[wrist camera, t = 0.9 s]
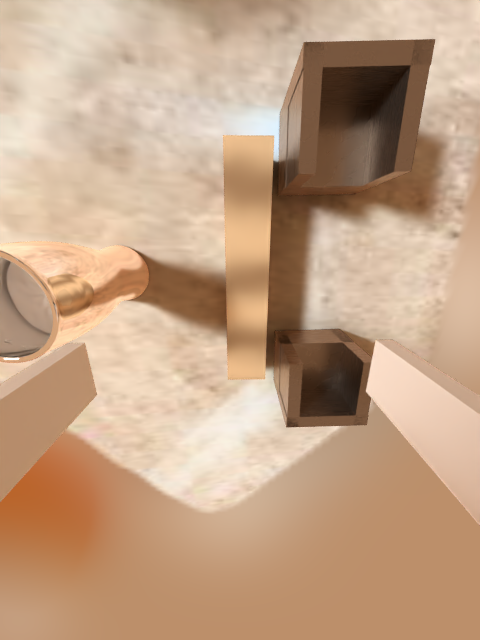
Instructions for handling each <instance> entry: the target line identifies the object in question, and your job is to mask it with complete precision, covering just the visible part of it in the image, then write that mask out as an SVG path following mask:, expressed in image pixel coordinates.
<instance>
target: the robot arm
mask: <svg viewBox="0 0 480 640" xmlns="http://www.w3.org/2000/svg"><path fill="white" fill-rule="evenodd" d="M366 392H367V393H368V395H369V396H370V397H371V398H372V399H373V401H374V402H375V403H376V404H377V405H378V406H379V408H380V409H381V410H382V411H383V412H384V413H385V415H386V416H387V417H388V418H389V419H390V420H391V422H392V423H393V424H394V425H395V426H396V428H397V429H398V430H399V431H400V432H401V433H402V435H403V436H404V437H405V438H406V439H407V441H408V442H409V443H410V444H411V445H412V446H413V448H414V449H415V450H416V451H417V452H418V453H419V455H420V456H421V457H422V458H423V459H424V460H425V462H426V463H427V464H428V465H429V466H430V468H431V469H432V470H433V471H434V472H435V473H436V475H437V476H438V477H439V478H440V479H441V481H442V482H443V483H444V484H445V485H446V486H447V488H448V489H449V490H450V491H451V492H452V493H453V495H454V496H455V497H456V498H457V499H458V501H459V502H460V503H461V504H462V505H463V506H464V508H465V509H466V510H467V511H468V512H469V514H471V516H472V517H473V518H474V519H475V520H476V522H477V523H478V524H479V525H480V395H478V394H476V393H475V392H473V391H472V390H470V389H469V388H467V387H465V386H464V385H462V384H461V383H459V382H458V381H456V380H455V379H453V378H452V377H450V376H448V375H447V374H445V373H444V372H442V371H441V370H439V369H437V368H436V367H434V366H433V365H431V364H430V363H428V362H427V361H425V360H424V359H422V358H420V357H419V356H417V355H416V354H414V353H413V352H411V351H409V350H408V349H406V348H405V347H403V346H402V345H400V344H399V343H397V342H395V341H394V340H376V341H375V346H374V352H373V357H372V362H371V367H370V372H369V377H368V383H367V388H366ZM96 395H97V393H96V388H95V384H94V380H93V376H92V371H91V367H90V363H89V359H88V354H87V350H86V346H85V343H67V344H65V345H63V346H62V347H60V348H58V349H57V350H55V351H53V352H52V353H50V354H49V355H47V356H45V357H44V358H42V359H40V360H39V361H37V362H35V363H34V364H32V365H31V366H29V367H27V368H26V369H24V370H22V371H21V372H19V373H17V374H16V375H14V376H12V377H11V378H9V379H8V380H6V381H4V382H3V383H1V384H0V502H1V501H2V500H3V498H4V497H5V496H6V495H7V494H8V493H9V492H10V491H11V490H12V488H13V487H14V486H15V485H16V484H17V483H18V482H19V481H20V480H21V479H22V477H23V476H24V475H25V474H26V473H27V472H28V471H29V470H30V469H31V467H32V466H33V465H34V464H35V463H36V462H37V461H38V460H39V459H40V457H41V456H42V455H43V454H44V453H45V452H46V451H47V450H48V448H49V447H50V446H51V445H52V444H53V443H54V442H55V441H56V440H57V439H58V437H59V436H60V435H61V434H62V433H63V432H64V431H65V430H66V429H67V427H68V426H69V425H70V424H71V423H72V422H73V421H74V420H75V419H76V417H77V416H78V415H79V414H80V413H81V412H82V411H83V410H84V409H85V408H86V406H87V405H88V404H89V403H90V402H91V401H92V400H93V399H94V398H95V396H96Z"/></svg>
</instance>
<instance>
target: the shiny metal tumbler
mask: <svg viewBox="0 0 480 640" xmlns="http://www.w3.org/2000/svg"><path fill="white" fill-rule="evenodd" d="M148 282H149V271H148V267H147V265H146V263H145V261H144V260H143V258H142V257H141V256H140V255H139V254H138V253H137V252H136V251H134V250H132V249H130V248H128V247H125V246H120V245H115V246H109V247H106V248H104V249H102V250H95V249H91V248H87V247H83V246H79V245H74V244H68V243H62V242H47V241H31V242H14V243H3V244H0V362H7V363H21V362H27V361H30V360H33V359H36V358H38V357H40V356H42V355H43V354H45V353H47V352H49V351H51V350H53V349H56V348H58V347H60V346H62V345H64V344H66V343H68V342H70V341H72V340H74V339H76V338H78V337H80V336H81V335H83V334H85V333H87V332H88V331H90V330H91V329H93V328H94V327H96V326H97V325H98V324H100V323H101V322H102V321H103V320H104V319H105V318H106V317H107V316H108V315H109V314H110V313H111V312H112V311H113V310H114V309H115V308H116V307H117V306H118V304H119V303H120V302H121V301H125V300H131V299H134V298H136V297H138V296H140V295H141V294H142V293H143V292H144V291H145V289H146V287H147V285H148Z"/></svg>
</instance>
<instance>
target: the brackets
mask: <svg viewBox="0 0 480 640" xmlns="http://www.w3.org/2000/svg"><path fill="white" fill-rule="evenodd" d="M434 44H435V39H426V40H383V41H340V42H304V43H303V46H302V49H301V52H300V55H299V58H298V61H297V64H296V67H295V70H294V73H293V76H292V79H291V82H290V85H289V88H288V91H287V94H286V97H285V100H284V103H283V106H282V109H281V112H280V130H279V173H278V196H297V195H336V194H356V193H359V192H361V191H364V190H366V189H369V188H371V187H374V186H376V185H378V184H381V183H383V182H386V181H388V180H391V179H393V178H396V177H398V176H401V175H403V174H406V173H408V172H411V169H412V163H413V158H414V152H415V146H416V141H417V135H418V129H419V124H420V118H421V112H422V107H423V101H424V96H425V90H426V84H427V79H428V73H429V67H430V65H431V61H432V55H433V49H434ZM371 362H372V357H371V356H370V355H368V354H367V353H366V352H365V351H364V350H363V349H361V348H360V347H359V346H358V345H357V344H356V343H354V341H353V340H351V339H350V338H349V337H348V336H347V335H346V334H344V333H343V332H342V331H341V330H340V329H321V330H284V331H275V345H274V383H275V387H276V390H277V394H278V398H279V402H280V406H281V409H282V413H283V417H284V421H285V425H286V427H315V426H350V425H367V420H368V412H369V406H370V400H371V397H370V396H369V395H368V393H367V392H366V388H367V383H368V377H369V372H370V367H371Z"/></svg>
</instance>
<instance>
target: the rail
mask: <svg viewBox="0 0 480 640" xmlns="http://www.w3.org/2000/svg"><path fill="white" fill-rule="evenodd" d="M273 151H274V136H236V135H223V154H224V205H225V256H226V307H227V359H228V379H265V366H266V339H267V312H268V285H269V258H270V231H271V205H272V178H273Z"/></svg>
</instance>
